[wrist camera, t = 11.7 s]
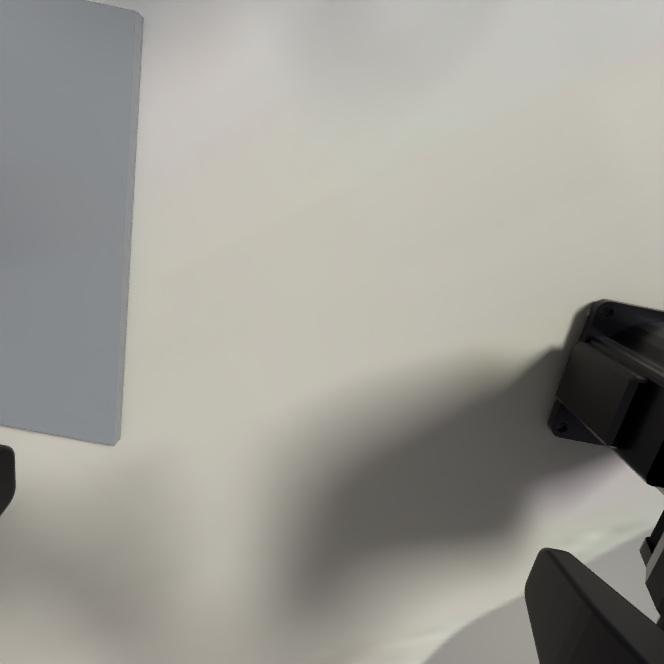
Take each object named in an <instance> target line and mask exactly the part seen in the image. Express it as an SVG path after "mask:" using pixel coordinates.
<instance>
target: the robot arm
mask: <svg viewBox="0 0 664 664" xmlns="http://www.w3.org/2000/svg"><path fill="white" fill-rule="evenodd" d="M606 307H608V308H609V311H608V313H607V314H606V315H605V316H602V311H603V309H605V308H606ZM556 396H557V399H556V402H555V405H554V407H553V410H552V412H551V415H550V418H549V420H548V428H549V430H550V431H551V432H552V433H553V434H554V435H555V436H557V437H561V438H566V439H571V440H577V441H582V442H587V443H592V444H598V445H603V446H607V447H610V448H611V449H612V450H613V451H614V452H615V453H616V454H617V455H618V456H619V457H620V458H621V459H622V460H623V461H624V462H625V463H626V464H627V465H628V466H629V467H630V468H631V469H632V470H633V471H635V472H636V473H637V474H638V475H639V476H640V477H641V478H642V479H643V480H644V481H645V482H646V483H647V484H649V485H651V486H655V487H656V488H657V489H658V490H659V491H660V492H661V493H662V494H663V495H664V311H663V310H658V309H653V308H648V307H643V306H638V305H633V304H628V303H623V302H618V301H613V300H608V299H602V300H599V301H597V302H596V303H595V304H594V305H593V306H592V308H591V310H590V313H589V316H588V318H587V321H586V323H585V326H584V329H583V331H582V334H581V337H580V339H579V342H578V343H577V344H576V345H575V346H574V348H573V350H572V353H571V356H570V358H569V361H568V363H567V366H566V369H565V371H564V374H563V377H562V379H561V382H560V384H559V387H558V390H557V392H556ZM560 423H564V425H563V426H562V427H561V428H557V426H558V425H559V424H560ZM15 488H16V479H15V453H14V451H13V449H12V448H11V447H9V446H6V445H1V444H0V516H1V514H2V513H3V512H4V510H5V509H6V508H7V506H8V505H9V504H10V502H11V500H12V498H13V496H14V493H15ZM640 553H641V556H642V558H643V561H644V563H645V566H646V582H645V583H646V586H647V588H648V591H649V593H650V595H651V598H652V600H653V602H654V605H655V607H656V609H657V611H658V613H659V614H660V616H659V618H658V620H657V623H656V624H655V623H654V622H653V621H652V620H650V619H649V618H648V617H647V616H645V615H644V614H643V613H642V612H640V611H639V610H638V609H637V608H636V607H635V606H633V605H632V604H631V603H630V602H629V601H627V600H626V599H625V598H624V597H622V596H621V595H620V594H619V593H618V592H616V591H615V590H614V589H613V588H612V587H610V586H609V585H608V584H606V582H604V581H603V580H602V579H601V578H599V577H598V576H597V575H596V574H595V573H593V572H592V571H591V570H590V569H589V568H587V567H586V566H585V565H584V564H583V563H581V562H580V561H579V560H578V559H577V558H575V557H574V556H573V555H572V554H570V553H569V552H566V551H563V550H558V549H552V548H543V549H541V550H540V551H539V553H538V555H537V557H536V560H535V562H534V564H533V567H532V569H531V572H530V574H529V576H528V579H527V581H526V585H525V601H526V605H527V610H528V614H529V619H530V623H531V628H532V632H533V636H534V641H535V645H536V650H537V654H538V658H539V663H540V664H664V510H663V512H662V514H661V516H660V518H659V520H658V522H657V524H656V526H655V528H654V530H653V532H652V534H651V536H650V537H646V538H645V540H644V542H643V544H642V546H641V548H640Z"/></svg>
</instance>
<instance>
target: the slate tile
mask: <svg viewBox="0 0 664 664" xmlns="http://www.w3.org/2000/svg"><path fill="white" fill-rule="evenodd" d="M142 34H143V17H142V16H141V15H140V14H139V13H138V12H136V11H133V10H128V9H123V8H119V7H114V6H109V5H104V4H100V3H95V2H90V1H85V0H0V425H4V426H9V427H15V428H20V429H26V430H31V431H36V432H42V433H47V434H53V435H58V436H64V437H69V438H75V439H80V440H86V441H91V442H97V443H102V444H108V445H113V446H114V445H115V444H116V443H117V442H118V441H119V440H120V433H121V415H122V397H123V379H124V360H125V342H126V324H127V306H128V288H129V270H130V252H131V233H132V215H133V197H134V179H135V161H136V143H137V124H138V106H139V88H140V70H141V52H142Z"/></svg>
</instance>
